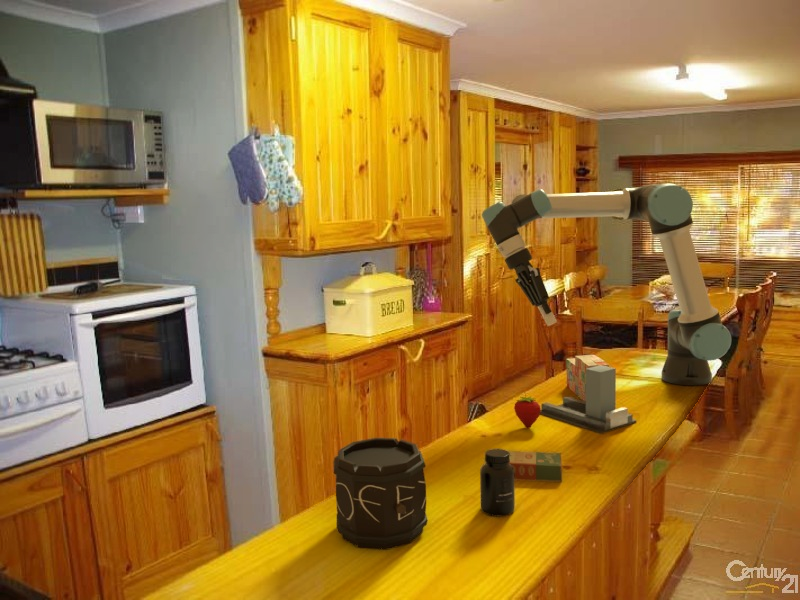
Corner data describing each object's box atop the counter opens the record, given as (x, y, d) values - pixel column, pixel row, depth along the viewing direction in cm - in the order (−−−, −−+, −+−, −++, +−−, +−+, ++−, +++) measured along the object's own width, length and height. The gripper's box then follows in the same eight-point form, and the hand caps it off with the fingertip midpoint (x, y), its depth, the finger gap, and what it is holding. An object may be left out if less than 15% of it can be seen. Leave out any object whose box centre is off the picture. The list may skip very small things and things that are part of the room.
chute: (571, 403, 212) (571, 388, 211) (636, 422, 193) (636, 405, 192) (537, 413, 204) (537, 397, 203) (601, 433, 185) (601, 416, 184)
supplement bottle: (506, 520, 139) (505, 461, 138) (475, 513, 143) (473, 455, 141) (520, 506, 145) (519, 449, 143) (489, 499, 149) (488, 444, 147)
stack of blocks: (566, 386, 230) (565, 349, 228) (585, 385, 230) (585, 347, 228) (588, 406, 209) (588, 365, 207) (609, 404, 209) (609, 363, 207)
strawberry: (532, 433, 187) (532, 396, 185) (509, 427, 192) (508, 391, 191) (545, 428, 191) (545, 391, 189) (523, 422, 196) (522, 386, 195)
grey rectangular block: (600, 414, 197) (600, 365, 195) (615, 418, 193) (615, 368, 191) (585, 419, 194) (585, 368, 192) (600, 423, 190) (600, 372, 188)
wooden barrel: (354, 563, 126) (350, 478, 123) (323, 521, 142) (319, 445, 139) (446, 539, 133) (443, 458, 130) (406, 503, 149) (403, 430, 146)
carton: (491, 466, 168) (490, 448, 167) (561, 469, 164) (561, 451, 164) (488, 480, 159) (487, 461, 159) (562, 483, 156) (562, 464, 155)
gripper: (496, 263, 216) (533, 332, 215) (512, 252, 204) (551, 326, 203) (517, 252, 219) (553, 321, 217) (534, 242, 206) (572, 315, 205)
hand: (552, 324), depth 210 cm, fingers closed
